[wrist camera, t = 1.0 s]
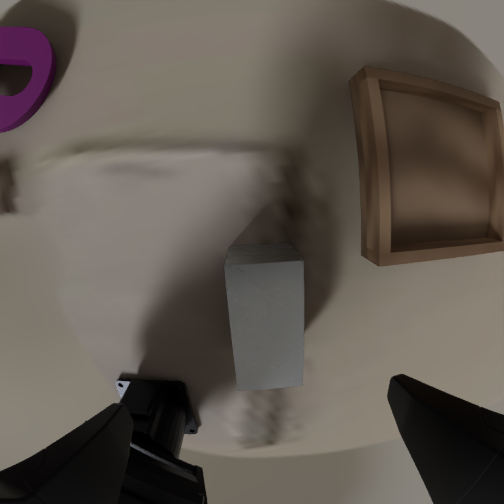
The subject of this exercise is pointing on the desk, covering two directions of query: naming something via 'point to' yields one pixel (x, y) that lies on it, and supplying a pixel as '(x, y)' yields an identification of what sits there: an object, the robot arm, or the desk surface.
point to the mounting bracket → (44, 66)
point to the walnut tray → (427, 168)
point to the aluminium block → (266, 315)
